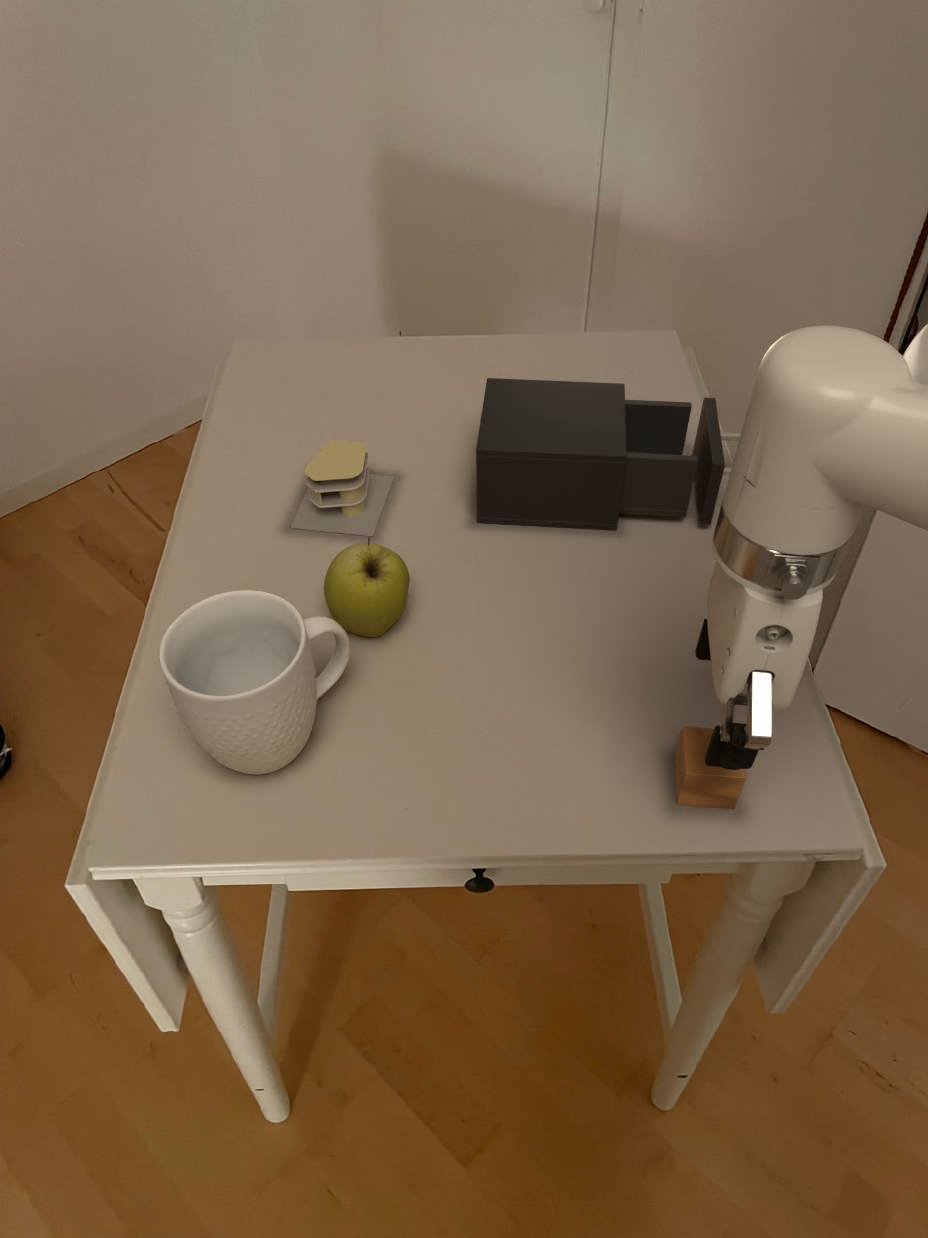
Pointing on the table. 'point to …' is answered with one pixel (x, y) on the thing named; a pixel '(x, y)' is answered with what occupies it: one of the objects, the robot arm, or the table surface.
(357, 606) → the apple
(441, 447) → the table surface
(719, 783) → the block
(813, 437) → the robot arm
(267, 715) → the mug
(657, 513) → the drawer
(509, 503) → the dark grey box
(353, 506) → the stacked layers on plate
